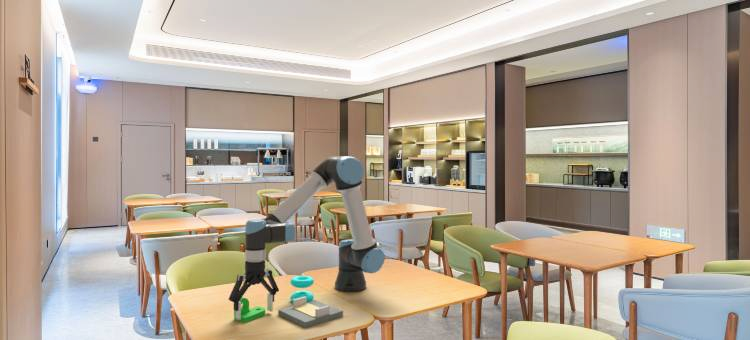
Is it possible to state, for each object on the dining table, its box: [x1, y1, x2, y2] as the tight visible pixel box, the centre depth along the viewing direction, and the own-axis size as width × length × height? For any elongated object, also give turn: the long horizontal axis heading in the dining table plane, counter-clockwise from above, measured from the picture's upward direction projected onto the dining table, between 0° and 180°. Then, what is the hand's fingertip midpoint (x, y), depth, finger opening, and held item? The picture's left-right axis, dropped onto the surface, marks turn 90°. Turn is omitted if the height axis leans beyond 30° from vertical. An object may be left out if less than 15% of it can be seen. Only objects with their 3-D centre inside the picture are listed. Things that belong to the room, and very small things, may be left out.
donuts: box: [290, 275, 315, 303], centre depth 192 cm, size 10×10×10 cm
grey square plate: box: [277, 297, 344, 329], centre depth 174 cm, size 18×18×5 cm
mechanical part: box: [233, 296, 266, 324], centre depth 172 cm, size 12×6×8 cm, turn 148°
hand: (254, 314), depth 172 cm, fingers open, 13 cm apart
